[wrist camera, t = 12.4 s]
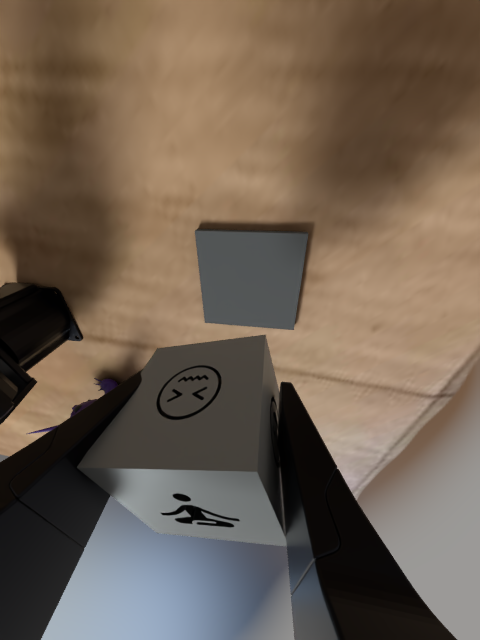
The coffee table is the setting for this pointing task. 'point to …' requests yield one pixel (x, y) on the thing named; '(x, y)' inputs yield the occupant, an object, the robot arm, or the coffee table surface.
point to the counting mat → (251, 276)
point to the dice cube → (199, 444)
